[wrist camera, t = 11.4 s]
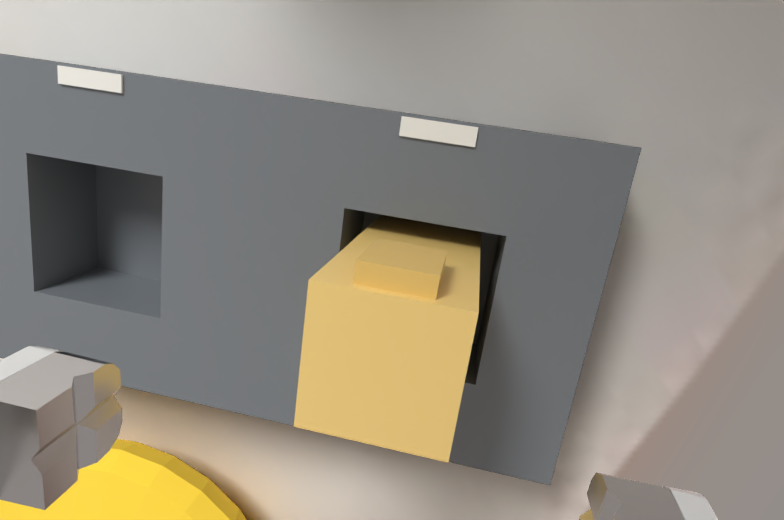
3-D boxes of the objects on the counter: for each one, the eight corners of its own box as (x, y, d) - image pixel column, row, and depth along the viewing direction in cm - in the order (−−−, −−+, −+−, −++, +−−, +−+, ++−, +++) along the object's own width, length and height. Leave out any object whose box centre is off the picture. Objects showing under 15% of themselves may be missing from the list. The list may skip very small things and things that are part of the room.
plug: (383, 200, 20) (311, 255, 12) (483, 216, 20) (483, 288, 11) (368, 307, 22) (293, 426, 13) (462, 325, 21) (448, 462, 13)
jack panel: (32, 58, 22) (-65, 44, 18) (609, 142, 19) (642, 148, 15) (46, 316, 25) (-34, 351, 21) (538, 423, 22) (550, 487, 18)
